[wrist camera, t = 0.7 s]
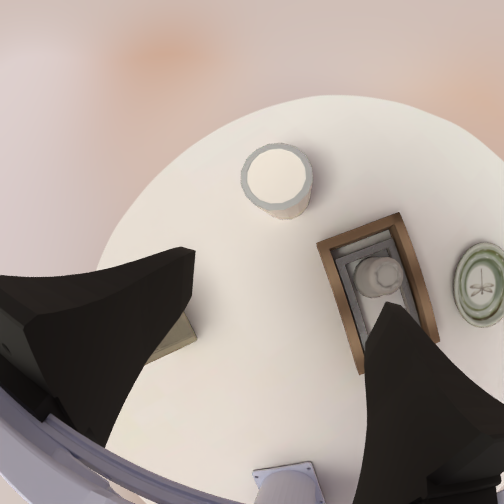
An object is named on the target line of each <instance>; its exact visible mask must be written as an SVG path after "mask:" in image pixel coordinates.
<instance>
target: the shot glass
mask: <svg viewBox="0 0 504 504" xmlns="http://www.w3.org/2000/svg"><path fill="white" fill-rule="evenodd" d="M312 182H313V176H312V166H311V164H310V162H309V160H308V158H307V157H306V155H305V154H304V153H303V152H301V151H300V150H299V149H297V148H296V147H294V146H291V145H288V144H284V143H275V144H267V145H265V146H263V147H261V148H259V149H257V150H255V151H254V152H253V153H252V154H251V155H250V156H249V157H248V158H247V159H246V161H245V164H244V166H243V168H242V170H241V186H242V188H243V191H244V193H245V195H246V197H247V198H248V199H249V200H250V201H251V202H252V203H253V204H255V205H256V206H257V207H259V208H260V209H262V210H263V211H265V212H266V213H268V214H269V215H271V216H272V217H275V218H278V219H281V220H288V219H293V218H295V217H297V216H300V215H301V214H302V213H303V211H304V210H305V209H306V208H307V205H308V203H309V200H310V195H311V188H312Z"/></svg>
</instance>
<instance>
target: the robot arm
mask: <svg viewBox="0 0 504 504" xmlns="http://www.w3.org/2000/svg"><path fill="white" fill-rule="evenodd" d="M195 252H196V251H195V250H191V249H187V248H184V247H177V248H173V249H169V250H166V251H163V252H160V253H157V254H154V255H151V256H148V257H145V258H142V259H139V260H136V261H133V262H129V263H126V264H123V265H119V266H116V267H112V268H108V269H104V270H99V271H94V272H89V273H83V274H75V275H66V276H56V277H18V276H5V275H0V475H1V476H2V477H3V478H4V480H5V481H6V482H7V483H8V484H9V485H10V486H11V487H12V488H13V489H14V490H15V491H16V492H17V493H18V494H19V495H20V496H21V497H22V498H23V499H24V500H25V501H26V502H28V503H29V504H135V503H132V502H130V501H128V500H126V499H124V498H122V497H121V496H120V495H119V494H117V493H116V492H115V491H114V490H113V489H112V488H111V487H110V485H109V482H108V481H107V480H105V479H104V478H102V477H101V476H99V475H98V474H100V475H102V476H103V477H105V478H107V479H109V480H110V481H112V482H114V483H116V484H118V485H120V486H122V487H124V488H126V489H128V490H130V491H132V492H134V493H136V494H138V495H140V496H142V497H144V498H146V499H149V500H151V501H153V502H156V503H158V504H244V503H240V502H236V501H232V500H229V499H225V498H221V497H218V496H215V495H211V494H208V493H205V492H202V491H199V490H196V489H193V488H190V487H188V486H185V485H182V484H179V483H177V482H174V481H172V480H169V479H167V478H164V477H162V476H160V475H157V474H155V473H153V472H150V471H148V470H146V469H144V468H142V467H140V466H137V465H135V464H133V463H131V462H129V461H127V460H125V459H123V458H121V457H120V456H118V455H116V454H114V453H112V452H110V451H108V450H107V449H105V446H106V443H107V441H108V438H109V436H110V433H111V431H112V428H113V426H114V424H115V421H116V419H117V417H118V415H119V413H120V411H121V409H122V406H123V404H124V402H125V400H126V398H127V396H128V394H129V392H130V391H131V389H132V387H133V385H134V383H135V381H136V379H137V378H138V376H139V374H140V372H141V371H142V369H143V367H144V365H145V364H146V362H147V361H148V359H149V358H150V356H151V355H152V353H153V352H154V351H155V349H156V348H157V347H158V346H159V344H160V343H161V342H162V340H163V339H164V338H165V336H166V335H167V334H168V332H169V331H170V330H171V328H172V327H173V326H174V324H175V323H176V322H177V320H178V319H179V318H180V316H181V315H182V313H183V311H184V309H185V308H186V306H187V304H188V302H189V300H190V298H191V296H192V286H193V274H194V263H195ZM364 373H365V387H366V402H367V431H366V441H365V449H364V456H363V462H362V468H361V473H360V477H359V482H358V486H357V490H356V494H355V497H354V501H353V504H504V490H501V491H500V492H497V493H496V486H497V485H499V484H500V483H501V476H500V474H501V473H502V472H504V404H503V403H501V402H500V401H498V400H497V399H495V398H494V397H492V396H491V395H490V394H488V393H487V392H485V391H484V390H483V389H482V388H480V387H479V386H478V385H477V384H475V383H474V382H473V381H472V380H471V379H469V378H468V377H467V376H466V375H465V374H464V373H463V372H462V371H461V370H460V369H459V368H458V367H457V366H455V365H454V364H453V363H452V362H451V361H450V360H449V358H448V357H447V356H446V355H445V354H444V353H443V352H442V351H441V350H440V349H439V348H438V346H437V345H436V344H435V343H434V342H433V341H432V340H431V338H430V337H429V336H428V335H427V334H426V333H425V331H424V330H423V329H422V328H421V327H420V326H419V324H418V323H417V322H416V321H415V320H414V319H413V317H412V316H411V315H410V314H409V313H408V312H407V311H406V310H405V309H404V308H403V307H402V306H401V305H398V304H394V303H390V302H386V303H385V305H384V307H383V309H382V311H381V313H380V315H379V317H378V319H377V321H376V323H375V325H374V327H373V329H372V331H371V333H370V335H369V337H368V338H367V340H366V342H365V354H364ZM308 467H310V469H308ZM89 468H90V469H89ZM92 470H93V471H92ZM94 471H95V472H97V473H98V474H96V473H95V472H94ZM252 476H253V478H254V480H255V482H256V484H257V486H258V488H259V492H258V495H257V497H256V500H255V502H254V504H326V502H325V499H324V497H323V494H322V491H321V488H320V485H319V483H318V480H317V477H316V474H315V471H314V468H313V466H312V463H311V462H304V463H299V464H294V465H289V466H283V467H277V468H270V469H263V470H255V471H253V472H252ZM256 476H258V477H256ZM320 501H322V502H320Z"/></svg>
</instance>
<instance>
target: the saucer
mask: <svg viewBox="0 0 504 504" xmlns="http://www.w3.org/2000/svg"><path fill="white" fill-rule="evenodd" d="M454 297H455V302H456V305H457V308H458V310H459V312H460V314H461V315H462V317H463V318H464V319H465V320H466V321H467V322H468V323H469V324H471V325H473V326H476V327H481V328H484V327H489V326H492V325H494V324H496V323H497V322H499V321H500V320H501V319H502V318H503V317H504V251H503V250H502V249H501V248H500V247H498V246H497V245H495V244H492V243H479V244H476V245H474V246H472V247H471V248H470V249H468V250H467V251H466V253H465V254H464V255H463V257H462V258H461V260H460V262H459V264H458V266H457V269H456V273H455V278H454Z"/></svg>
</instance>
